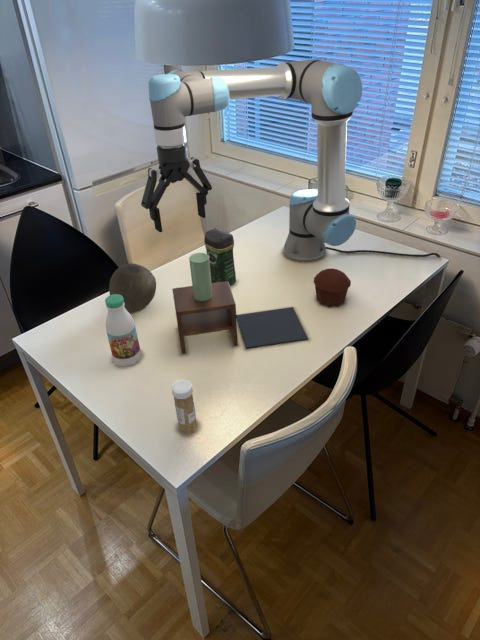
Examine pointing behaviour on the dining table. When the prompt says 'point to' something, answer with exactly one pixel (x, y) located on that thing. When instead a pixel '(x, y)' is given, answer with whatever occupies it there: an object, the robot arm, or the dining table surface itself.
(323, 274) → the muffin
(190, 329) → the wooden side table
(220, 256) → the coffee jar
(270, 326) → the felt mat
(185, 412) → the sprinkles bottle
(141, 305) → the dimpled grey orange
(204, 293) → the canister
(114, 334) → the milk bottle
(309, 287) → the dining table surface
